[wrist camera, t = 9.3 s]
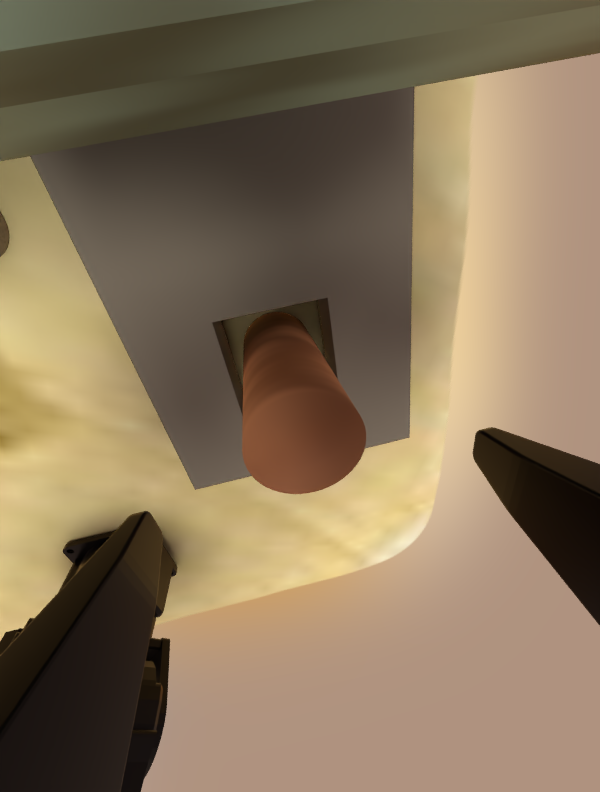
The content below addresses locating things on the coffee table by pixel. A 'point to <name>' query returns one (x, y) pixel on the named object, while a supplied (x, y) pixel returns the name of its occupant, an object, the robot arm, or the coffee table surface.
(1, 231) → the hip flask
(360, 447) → the peg
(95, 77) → the awning
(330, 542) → the coffee table surface
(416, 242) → the coffee table surface
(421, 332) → the coffee table surface
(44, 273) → the coffee table surface
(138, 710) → the robot arm
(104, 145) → the socket deck
